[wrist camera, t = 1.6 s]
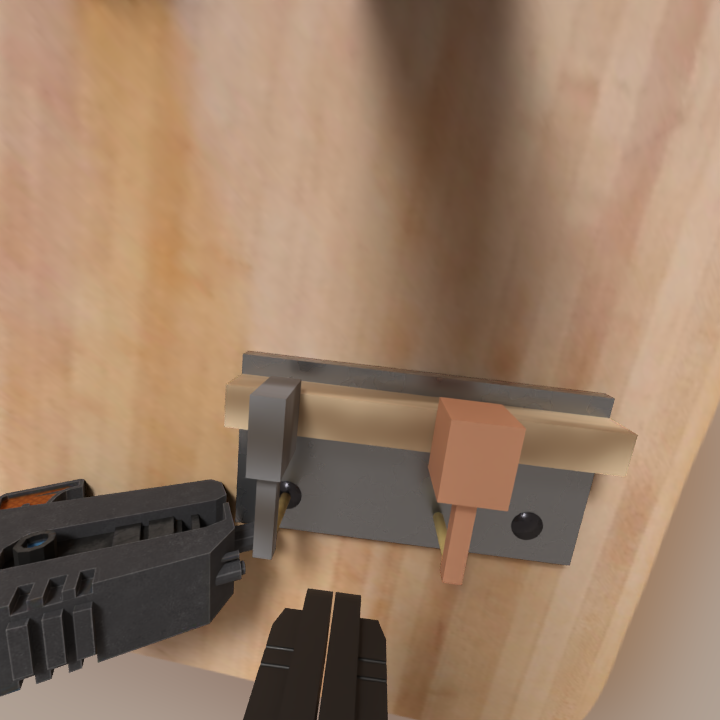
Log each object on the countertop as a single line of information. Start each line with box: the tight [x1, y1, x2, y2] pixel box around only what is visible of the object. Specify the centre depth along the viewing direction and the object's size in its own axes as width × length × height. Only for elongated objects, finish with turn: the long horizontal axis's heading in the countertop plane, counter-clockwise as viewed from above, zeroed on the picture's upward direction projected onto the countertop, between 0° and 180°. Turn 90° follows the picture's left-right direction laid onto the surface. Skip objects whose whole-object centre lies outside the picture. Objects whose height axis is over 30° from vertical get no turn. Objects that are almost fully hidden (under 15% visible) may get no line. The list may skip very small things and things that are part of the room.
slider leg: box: [428, 397, 526, 585], centre depth 24 cm, size 11×4×7 cm, turn 174°
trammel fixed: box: [224, 374, 638, 560], centre depth 25 cm, size 11×27×7 cm, turn 84°
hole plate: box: [235, 351, 615, 565], centre depth 29 cm, size 14×27×1 cm, turn 84°
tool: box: [0, 479, 254, 696], centre depth 27 cm, size 6×19×15 cm, turn 85°
